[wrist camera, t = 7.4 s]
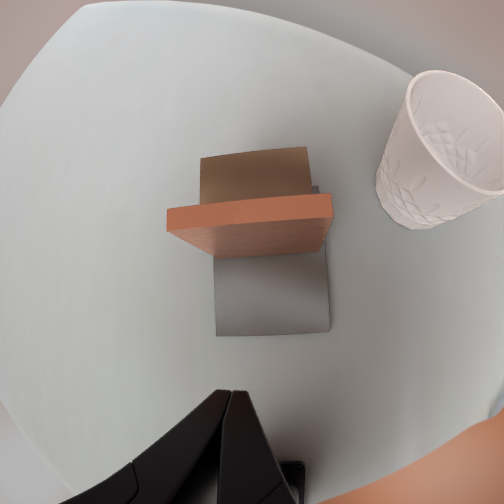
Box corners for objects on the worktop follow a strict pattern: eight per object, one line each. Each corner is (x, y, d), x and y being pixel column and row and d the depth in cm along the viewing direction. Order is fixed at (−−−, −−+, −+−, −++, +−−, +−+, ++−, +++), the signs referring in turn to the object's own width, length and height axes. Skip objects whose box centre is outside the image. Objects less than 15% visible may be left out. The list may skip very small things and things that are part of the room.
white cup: (370, 138, 21) (399, 54, 12) (450, 160, 20) (506, 97, 10) (363, 227, 20) (409, 170, 11) (451, 246, 19) (530, 212, 9)
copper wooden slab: (318, 252, 19) (333, 216, 11) (218, 258, 20) (166, 230, 12) (311, 184, 20) (317, 114, 12) (217, 192, 21) (172, 133, 13)
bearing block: (328, 330, 19) (343, 344, 13) (218, 335, 21) (184, 349, 14) (317, 189, 21) (324, 145, 15) (214, 198, 22) (184, 161, 16)
